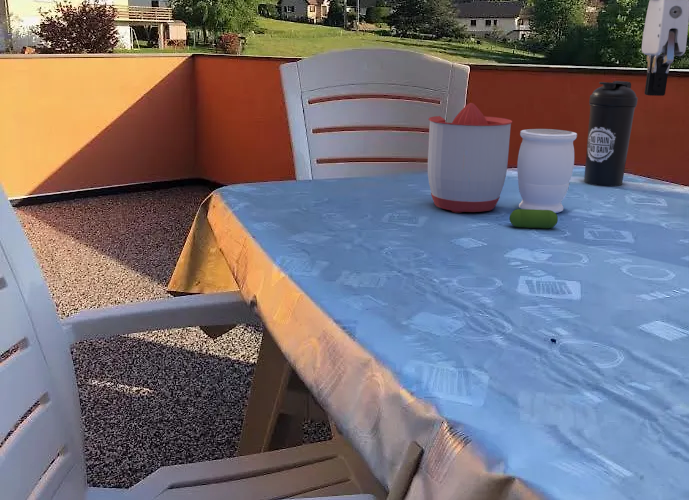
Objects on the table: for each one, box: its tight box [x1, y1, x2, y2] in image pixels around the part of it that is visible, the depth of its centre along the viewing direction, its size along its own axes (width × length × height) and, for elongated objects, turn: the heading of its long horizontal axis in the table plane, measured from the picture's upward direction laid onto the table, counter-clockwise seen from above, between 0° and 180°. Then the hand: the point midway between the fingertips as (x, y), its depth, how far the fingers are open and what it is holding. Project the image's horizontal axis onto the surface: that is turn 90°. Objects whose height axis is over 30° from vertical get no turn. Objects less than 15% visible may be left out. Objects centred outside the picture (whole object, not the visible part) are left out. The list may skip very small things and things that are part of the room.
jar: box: [516, 128, 578, 214], centre depth 135 cm, size 11×10×15 cm
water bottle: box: [583, 80, 639, 187], centre depth 162 cm, size 10×10×23 cm
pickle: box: [509, 208, 559, 229], centre depth 123 cm, size 8×3×3 cm, turn 85°
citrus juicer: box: [427, 102, 513, 214], centre depth 136 cm, size 16×17×20 cm
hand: (654, 95), depth 131 cm, fingers closed
